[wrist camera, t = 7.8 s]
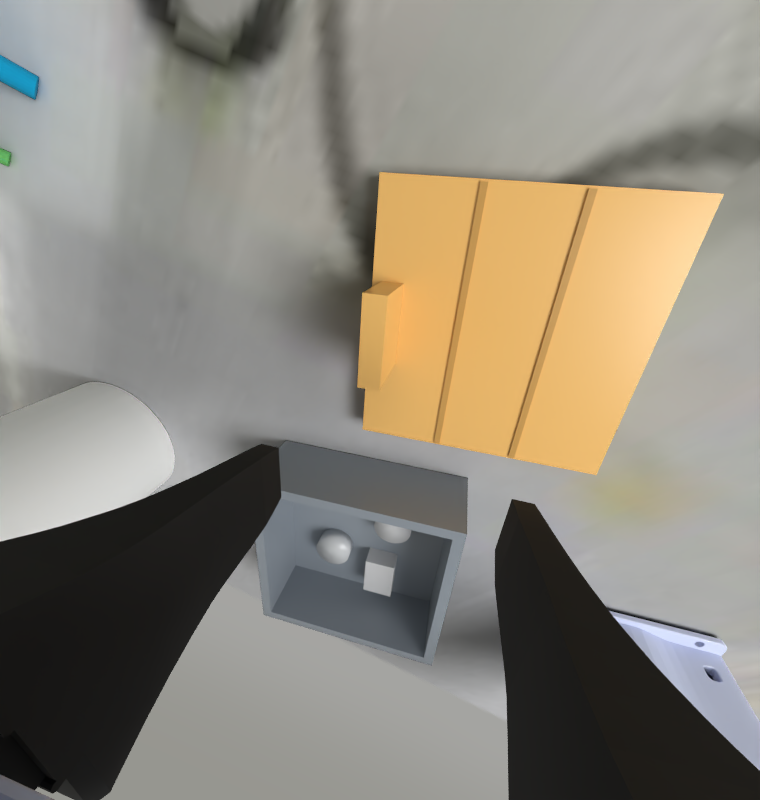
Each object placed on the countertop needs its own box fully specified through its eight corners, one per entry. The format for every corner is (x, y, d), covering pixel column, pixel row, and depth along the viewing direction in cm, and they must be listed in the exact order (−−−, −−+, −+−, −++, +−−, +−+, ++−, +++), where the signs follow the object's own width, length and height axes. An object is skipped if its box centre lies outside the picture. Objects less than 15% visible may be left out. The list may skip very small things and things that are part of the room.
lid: (699, 197, 14) (807, 181, 9) (587, 458, 19) (621, 524, 15) (387, 177, 16) (355, 156, 11) (369, 417, 22) (343, 464, 17)
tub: (467, 478, 21) (467, 534, 17) (437, 601, 27) (431, 665, 23) (286, 440, 23) (248, 482, 19) (292, 562, 29) (263, 614, 25)
